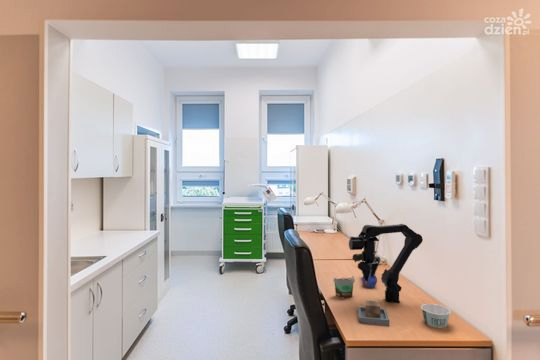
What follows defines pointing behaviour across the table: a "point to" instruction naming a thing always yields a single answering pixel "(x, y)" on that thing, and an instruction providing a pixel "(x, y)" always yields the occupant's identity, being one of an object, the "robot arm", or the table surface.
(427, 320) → the food container
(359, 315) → the tray
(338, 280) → the food container
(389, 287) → the robot arm
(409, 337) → the table surface
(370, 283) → the pencil case
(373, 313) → the cube
